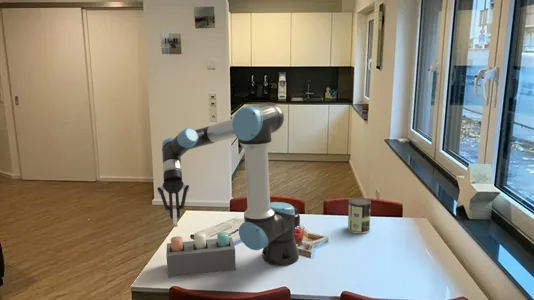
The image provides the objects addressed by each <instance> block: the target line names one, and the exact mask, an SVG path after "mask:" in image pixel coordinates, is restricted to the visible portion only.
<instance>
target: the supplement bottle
mask: <svg viewBox="0 0 534 300" xmlns="http://www.w3.org/2000/svg"><path fill="white" fill-rule="evenodd" d="M293 207H294V211H295V227H297V226H300V225H301V216H300V214H299V209H298V207H295V206H293ZM300 227H301V226H300Z"/></svg>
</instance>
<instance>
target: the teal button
mask: <svg viewBox="0 0 534 300" xmlns="http://www.w3.org/2000/svg"><path fill="white" fill-rule="evenodd" d="M229 238H230V237H229V233H228V232H225V231H222V232H219V233H217V238H216V239H218V248H219V247H229Z"/></svg>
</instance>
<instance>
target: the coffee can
mask: <svg viewBox="0 0 534 300" xmlns="http://www.w3.org/2000/svg"><path fill="white" fill-rule="evenodd" d="M371 205H372V201H371V200H370V199H368V198H365V197H353V198H350V199H348V215H347V216H348V217H347V218H348V219H347V220H348V221H347V223H348V224H347V230H348V231H349V232H351V233H354V234H366V233H369V232H370V231H371V228H370V227H371Z"/></svg>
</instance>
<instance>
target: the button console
mask: <svg viewBox="0 0 534 300" xmlns="http://www.w3.org/2000/svg"><path fill="white" fill-rule="evenodd" d="M233 240H234V239H233V238H232V237H229V247H219V248H218V238H211V239H210V238H209V239H206V249H199V250H195V241H194V240H189V241H182V242H183V251H178V252H172V251H171V242H169V243H166V254H165V255H166V268H167V269H166V270H167V272H166V273H167V278H178V277H185V276H186V277H187V276H195V275H203V274H204V275H205V274H216V273H222V272H224V273H225V272H232V271H236V270H237V267H236V266H237V262H236V261H237V260H236V247H235V245H234V241H233Z"/></svg>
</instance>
